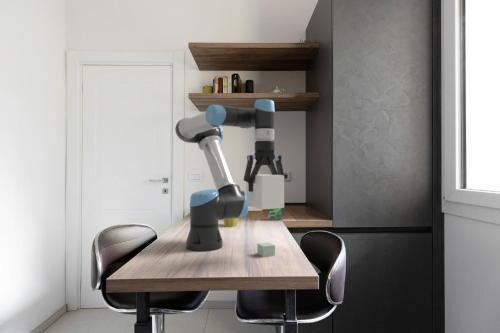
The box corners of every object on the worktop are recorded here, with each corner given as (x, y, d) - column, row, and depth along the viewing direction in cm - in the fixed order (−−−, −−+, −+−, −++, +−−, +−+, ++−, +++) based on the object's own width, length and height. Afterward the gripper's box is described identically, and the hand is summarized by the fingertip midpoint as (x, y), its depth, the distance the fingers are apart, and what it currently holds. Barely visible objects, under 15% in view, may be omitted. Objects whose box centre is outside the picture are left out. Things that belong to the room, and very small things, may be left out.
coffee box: (268, 220, 201) (268, 199, 201) (267, 219, 203) (267, 198, 203) (281, 220, 202) (281, 198, 202) (280, 219, 205) (280, 198, 205)
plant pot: (229, 228, 176) (229, 210, 176) (217, 225, 184) (217, 208, 184) (243, 225, 183) (243, 208, 183) (232, 223, 191) (232, 206, 191)
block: (263, 257, 120) (263, 246, 120) (257, 254, 125) (257, 243, 125) (275, 255, 122) (275, 245, 122) (269, 252, 127) (269, 242, 127)
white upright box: (262, 209, 116) (262, 175, 116) (246, 205, 128) (246, 174, 128) (284, 207, 120) (284, 175, 120) (266, 203, 132) (266, 174, 132)
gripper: (242, 139, 116) (242, 202, 116) (294, 141, 125) (294, 199, 125) (234, 140, 122) (234, 200, 123) (284, 142, 132) (284, 197, 132)
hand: (264, 199), depth 124 cm, fingers closed on white upright box, 9 cm apart
